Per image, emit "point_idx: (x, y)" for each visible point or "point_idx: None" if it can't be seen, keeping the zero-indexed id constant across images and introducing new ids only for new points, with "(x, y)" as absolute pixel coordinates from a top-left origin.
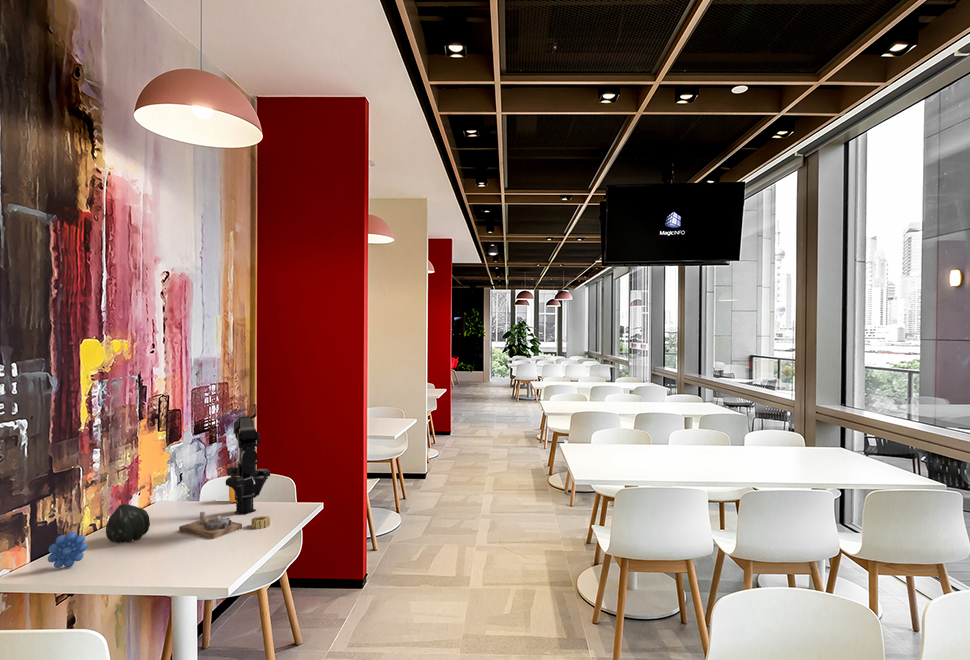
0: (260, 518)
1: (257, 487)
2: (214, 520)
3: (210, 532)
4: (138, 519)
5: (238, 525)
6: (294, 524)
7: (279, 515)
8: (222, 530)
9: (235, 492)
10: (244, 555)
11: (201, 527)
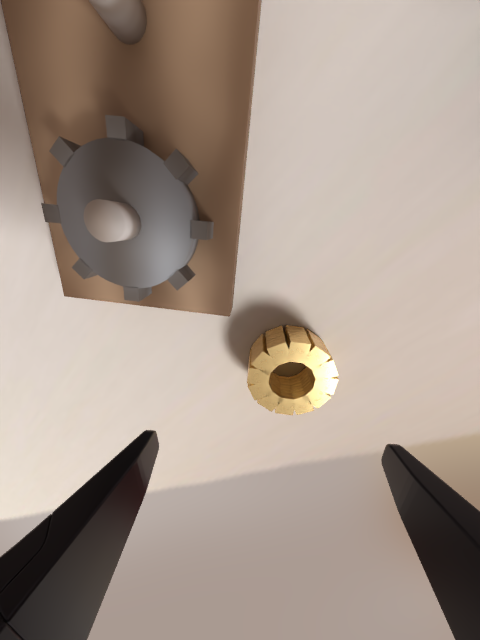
0: (308, 365)
1: (463, 577)
2: (125, 172)
3: (63, 268)
4: None
5: (209, 312)
6: (333, 454)
7: (460, 336)
8: (115, 301)
9: (22, 543)
10: (66, 473)
11: (73, 118)
